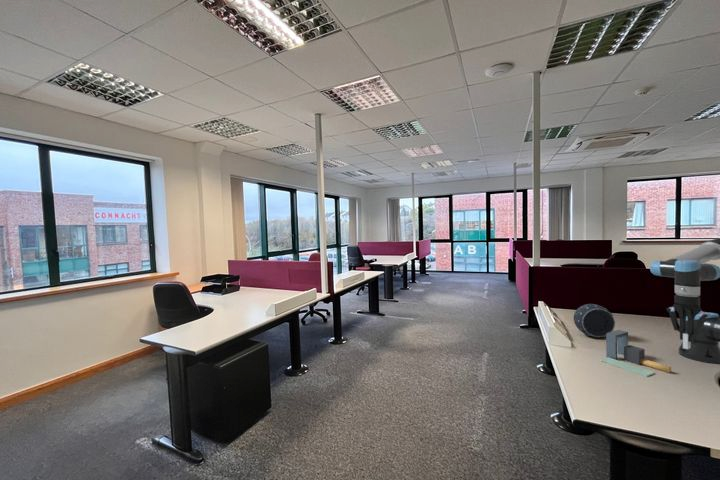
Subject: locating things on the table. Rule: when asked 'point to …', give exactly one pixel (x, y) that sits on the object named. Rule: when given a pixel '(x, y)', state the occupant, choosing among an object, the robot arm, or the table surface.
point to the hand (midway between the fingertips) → (686, 348)
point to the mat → (628, 367)
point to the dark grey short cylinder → (594, 320)
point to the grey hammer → (642, 358)
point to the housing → (612, 343)
